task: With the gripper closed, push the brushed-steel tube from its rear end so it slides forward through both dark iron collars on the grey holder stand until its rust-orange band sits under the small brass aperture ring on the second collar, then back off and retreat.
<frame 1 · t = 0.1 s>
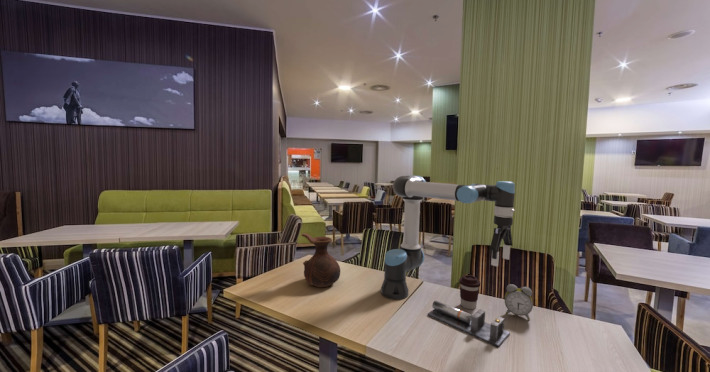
hand: (500, 262, 131), 28 cm above the table, fingers open, 13 cm apart
alarm clock: (517, 315, 139), on the table
tube: (451, 311, 135), point 3 cm above the table, slide at 0.0 cm
jug: (321, 283, 171), on the table
grey holder stand: (466, 324, 130), on the table
coffee cup: (468, 306, 147), on the table
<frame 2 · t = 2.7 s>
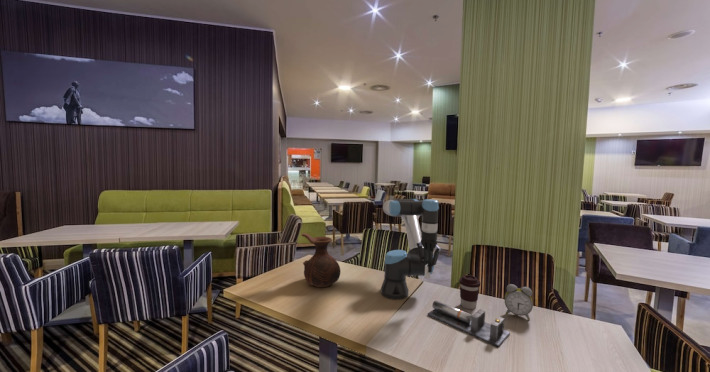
hand: (427, 277, 144), 15 cm above the table, fingers closed
nothing on the table moved.
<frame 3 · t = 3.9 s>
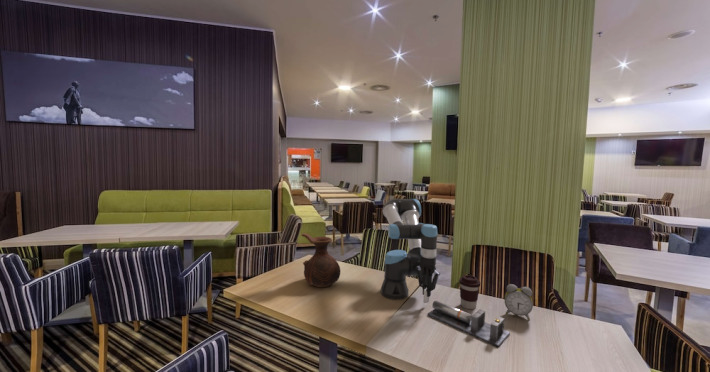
hand: (426, 301, 145), 3 cm above the table, fingers closed
nothing on the table moved.
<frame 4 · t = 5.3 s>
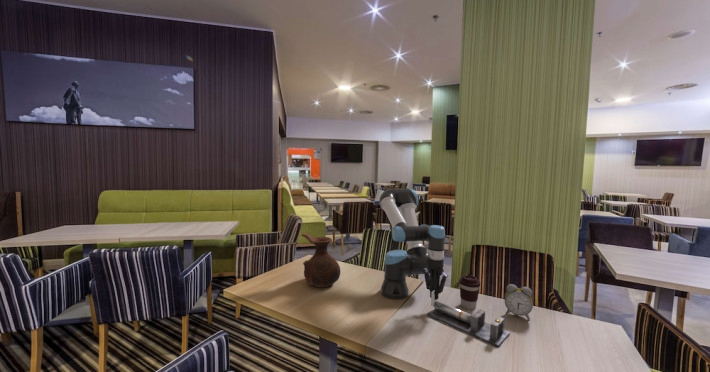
hand: (433, 304, 142), 3 cm above the table, fingers closed
tube: (453, 311, 135), point 3 cm above the table, slide at 0.7 cm, touching gripper
everything else where it was.
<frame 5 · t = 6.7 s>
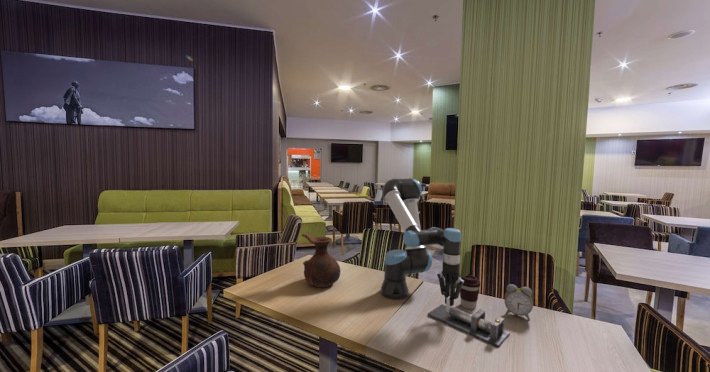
hand: (448, 311, 136), 3 cm above the table, fingers closed
tube: (469, 318, 129), point 3 cm above the table, slide at 8.7 cm, touching gripper
everything else where it was.
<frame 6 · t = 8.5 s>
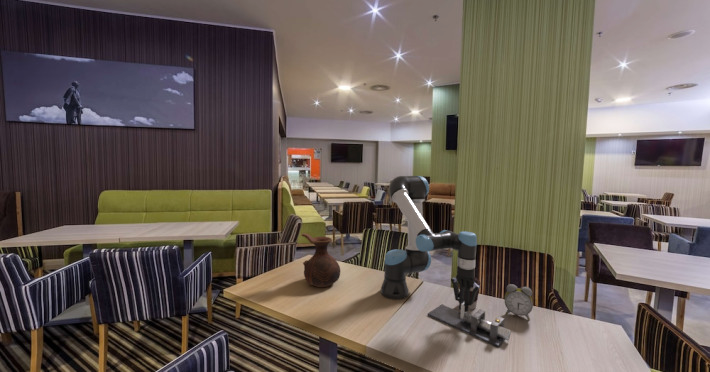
hand: (463, 317, 131), 3 cm above the table, fingers closed
tube: (485, 325, 124), point 3 cm above the table, slide at 15.6 cm, touching gripper
everything else where it was.
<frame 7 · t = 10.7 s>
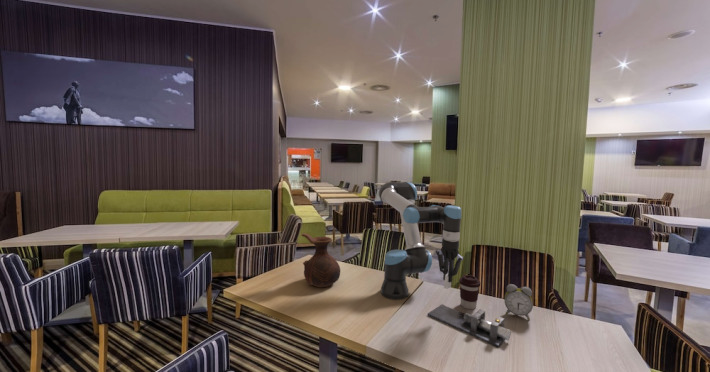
hand: (447, 287, 137), 14 cm above the table, fingers closed
tube: (486, 325, 124), point 3 cm above the table, slide at 15.7 cm
everything else where it was.
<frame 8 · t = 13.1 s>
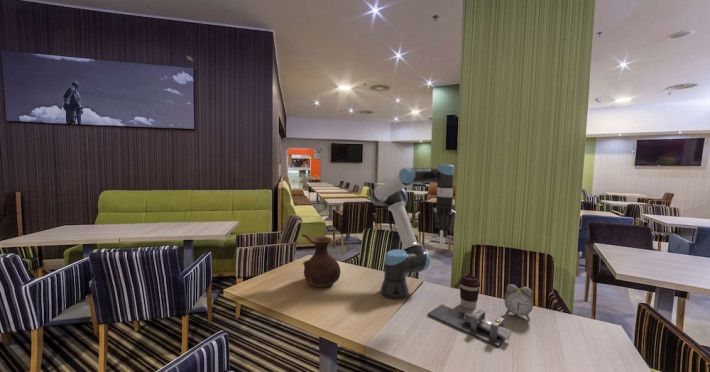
hand: (442, 243, 144), 32 cm above the table, fingers closed
nothing on the table moved.
at the end: tube slide at 15.7 cm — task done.
